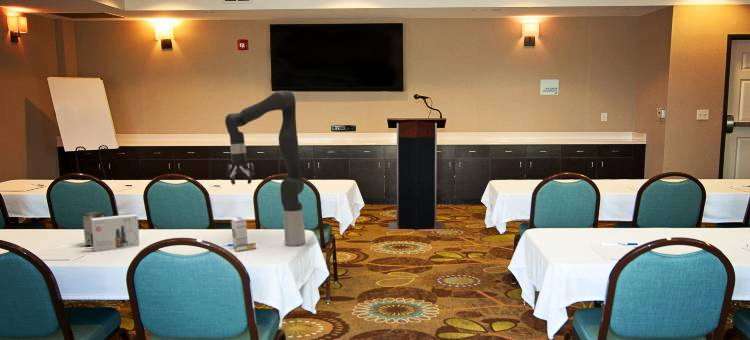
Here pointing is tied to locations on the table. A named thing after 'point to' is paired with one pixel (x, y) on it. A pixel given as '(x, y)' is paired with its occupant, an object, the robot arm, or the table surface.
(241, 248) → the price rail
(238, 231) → the syrup box
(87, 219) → the coffee box
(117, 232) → the skincare box
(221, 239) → the table surface
